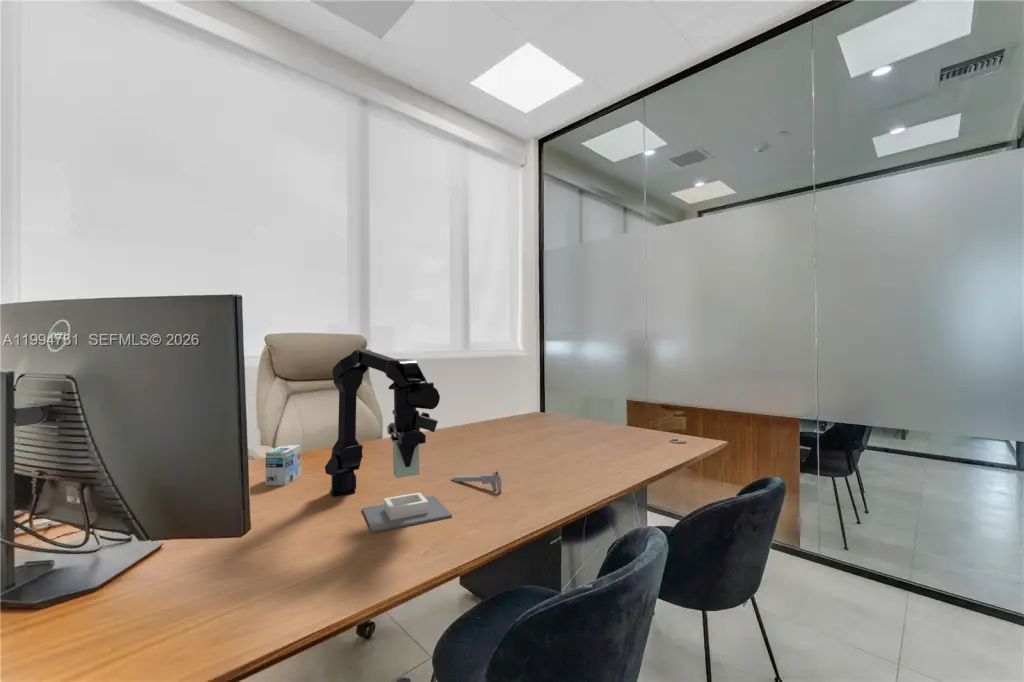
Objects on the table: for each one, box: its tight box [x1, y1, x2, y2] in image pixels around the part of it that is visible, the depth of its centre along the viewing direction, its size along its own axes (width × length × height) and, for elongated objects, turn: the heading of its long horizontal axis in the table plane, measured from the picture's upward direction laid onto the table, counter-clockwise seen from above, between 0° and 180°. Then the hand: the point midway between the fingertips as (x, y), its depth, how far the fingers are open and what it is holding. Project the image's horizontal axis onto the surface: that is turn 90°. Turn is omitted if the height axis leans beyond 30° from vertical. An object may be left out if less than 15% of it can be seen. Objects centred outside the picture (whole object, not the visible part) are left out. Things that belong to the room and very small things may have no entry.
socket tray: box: [361, 492, 453, 534], centre depth 116 cm, size 20×16×4 cm
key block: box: [392, 440, 420, 479], centre depth 117 cm, size 4×6×9 cm, turn 117°
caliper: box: [450, 470, 502, 493], centre depth 138 cm, size 20×1×6 cm, turn 54°
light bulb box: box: [265, 444, 302, 486], centre depth 144 cm, size 11×7×11 cm, turn 179°
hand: (406, 465), depth 117 cm, fingers closed on key block, 4 cm apart
